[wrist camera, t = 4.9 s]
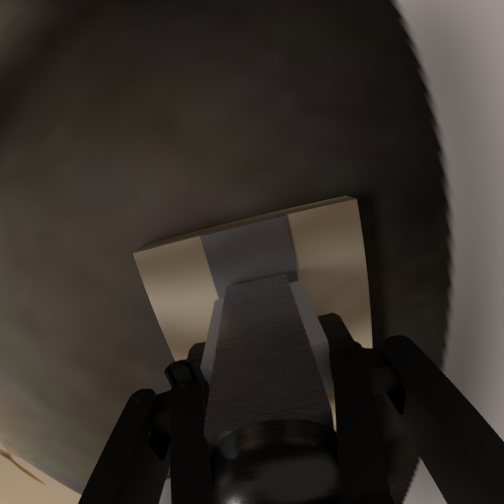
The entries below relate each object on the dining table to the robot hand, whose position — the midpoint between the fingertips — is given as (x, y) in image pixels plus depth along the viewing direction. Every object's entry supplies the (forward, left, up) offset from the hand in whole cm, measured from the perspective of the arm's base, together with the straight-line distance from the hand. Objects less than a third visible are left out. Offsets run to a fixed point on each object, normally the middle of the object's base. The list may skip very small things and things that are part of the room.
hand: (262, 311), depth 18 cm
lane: (+14, 0, -3) cm, 14 cm away
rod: (+4, 0, -1) cm, 4 cm away
